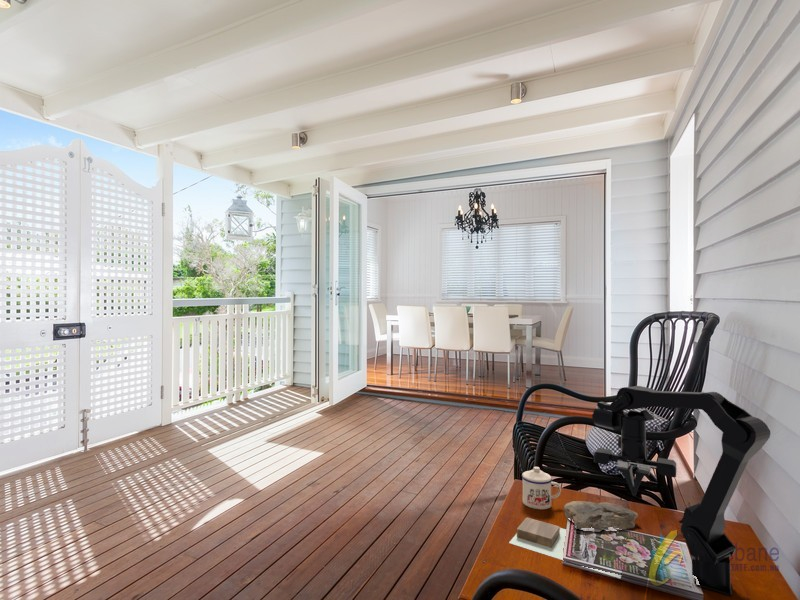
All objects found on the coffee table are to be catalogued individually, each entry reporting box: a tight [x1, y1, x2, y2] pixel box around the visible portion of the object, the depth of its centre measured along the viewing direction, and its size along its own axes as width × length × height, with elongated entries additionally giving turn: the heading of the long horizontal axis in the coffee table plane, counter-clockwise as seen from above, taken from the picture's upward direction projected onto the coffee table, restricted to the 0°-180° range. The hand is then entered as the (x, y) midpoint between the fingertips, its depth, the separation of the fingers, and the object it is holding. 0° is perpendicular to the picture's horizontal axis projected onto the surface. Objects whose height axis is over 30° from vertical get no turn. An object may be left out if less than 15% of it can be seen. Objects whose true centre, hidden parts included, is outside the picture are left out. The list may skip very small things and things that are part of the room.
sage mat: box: [508, 527, 622, 579], centre depth 109 cm, size 26×16×1 cm, turn 55°
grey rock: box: [563, 500, 639, 530], centre depth 123 cm, size 14×5×20 cm
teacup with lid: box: [521, 466, 562, 510], centre depth 134 cm, size 12×9×12 cm
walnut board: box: [516, 517, 561, 548], centre depth 114 cm, size 2×8×9 cm
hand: (634, 494), depth 111 cm, fingers closed
